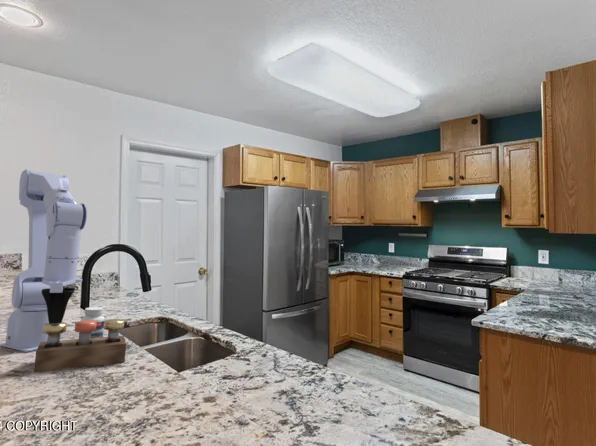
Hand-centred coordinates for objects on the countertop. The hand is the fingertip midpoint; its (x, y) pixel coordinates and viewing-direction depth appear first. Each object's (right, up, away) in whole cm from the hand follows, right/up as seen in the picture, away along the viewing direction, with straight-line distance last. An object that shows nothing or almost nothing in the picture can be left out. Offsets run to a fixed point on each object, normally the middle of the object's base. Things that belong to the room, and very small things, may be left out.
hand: (55, 322), depth 72 cm
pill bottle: (-2, -10, +15) cm, 18 cm away
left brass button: (0, -6, 0) cm, 6 cm away
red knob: (+4, -6, +2) cm, 8 cm away
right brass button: (+9, -7, +5) cm, 12 cm away
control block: (+4, -9, +2) cm, 10 cm away
